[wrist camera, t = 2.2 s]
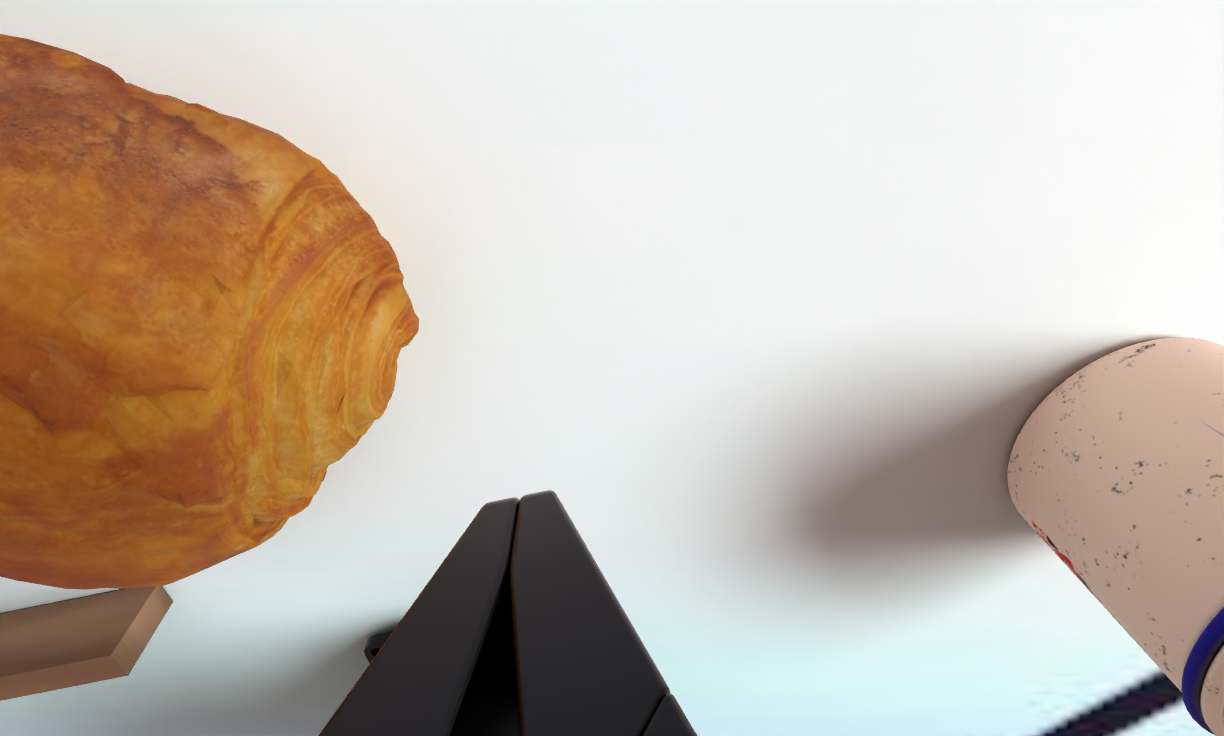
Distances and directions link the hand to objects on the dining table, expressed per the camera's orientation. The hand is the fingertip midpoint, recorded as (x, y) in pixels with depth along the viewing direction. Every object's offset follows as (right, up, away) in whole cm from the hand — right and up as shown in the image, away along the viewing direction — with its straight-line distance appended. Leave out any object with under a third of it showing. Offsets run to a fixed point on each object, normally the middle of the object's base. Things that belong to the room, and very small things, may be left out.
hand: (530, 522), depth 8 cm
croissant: (-13, +4, +11) cm, 17 cm away
